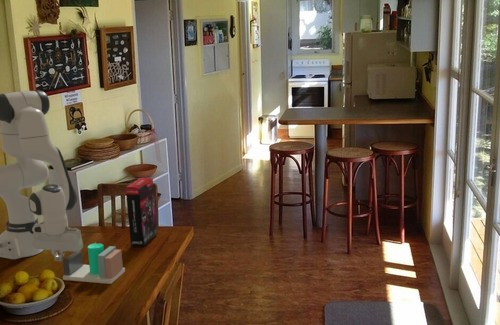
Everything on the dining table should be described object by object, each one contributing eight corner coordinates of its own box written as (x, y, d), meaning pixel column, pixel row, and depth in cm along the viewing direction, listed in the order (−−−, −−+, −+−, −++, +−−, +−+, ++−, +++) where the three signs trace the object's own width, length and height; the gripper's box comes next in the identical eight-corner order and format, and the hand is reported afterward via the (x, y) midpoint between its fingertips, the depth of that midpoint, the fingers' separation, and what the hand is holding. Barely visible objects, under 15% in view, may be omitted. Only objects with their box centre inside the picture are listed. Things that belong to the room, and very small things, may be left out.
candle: (103, 274, 229) (101, 244, 227) (88, 274, 229) (85, 245, 226) (107, 267, 235) (104, 239, 232) (91, 268, 235) (89, 239, 232)
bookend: (64, 274, 229) (62, 260, 228) (77, 264, 239) (76, 250, 237) (70, 275, 229) (68, 260, 227) (83, 265, 238) (81, 251, 237)
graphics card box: (144, 247, 260) (140, 187, 254) (129, 247, 262) (124, 186, 256) (157, 234, 277) (154, 177, 271) (143, 234, 278) (139, 177, 272)
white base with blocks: (63, 279, 229) (60, 253, 226) (79, 267, 240) (76, 242, 238) (111, 283, 224) (109, 257, 222) (125, 271, 235) (123, 246, 233)
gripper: (84, 225, 232) (87, 259, 235) (37, 222, 237) (41, 255, 240) (76, 230, 226) (79, 265, 229) (28, 227, 231) (31, 261, 234)
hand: (59, 260), depth 234 cm, fingers closed
